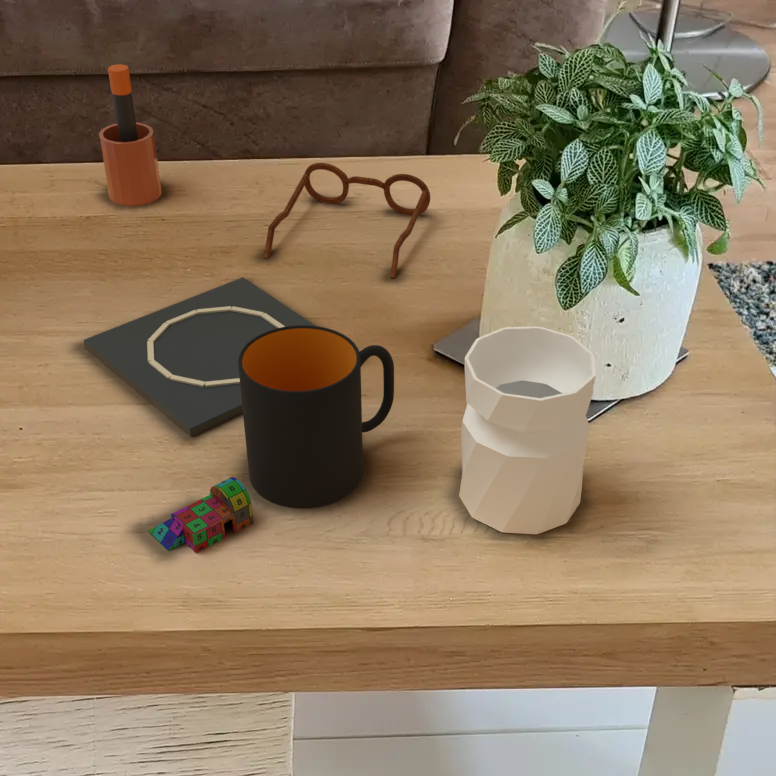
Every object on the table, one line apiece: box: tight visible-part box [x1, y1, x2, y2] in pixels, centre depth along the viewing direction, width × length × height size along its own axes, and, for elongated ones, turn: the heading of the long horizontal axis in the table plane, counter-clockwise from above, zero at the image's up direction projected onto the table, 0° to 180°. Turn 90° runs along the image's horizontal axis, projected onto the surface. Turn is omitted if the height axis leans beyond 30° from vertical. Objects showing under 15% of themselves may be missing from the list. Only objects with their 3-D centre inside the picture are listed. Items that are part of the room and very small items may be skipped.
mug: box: [238, 325, 395, 509], centre depth 83 cm, size 8×12×10 cm
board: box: [82, 276, 316, 438], centre depth 97 cm, size 16×16×1 cm
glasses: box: [263, 162, 431, 279], centre depth 112 cm, size 13×13×5 cm
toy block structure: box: [146, 476, 254, 554], centre depth 79 cm, size 6×4×3 cm
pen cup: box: [98, 121, 163, 207], centre depth 117 cm, size 5×5×7 cm
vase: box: [458, 326, 597, 535], centre depth 80 cm, size 9×9×12 cm
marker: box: [107, 63, 138, 142], centre depth 115 cm, size 2×2×13 cm
